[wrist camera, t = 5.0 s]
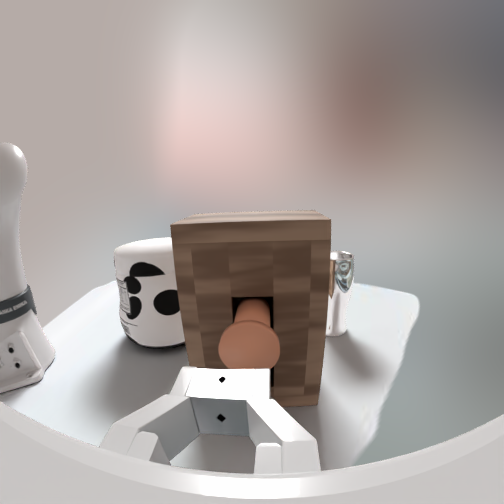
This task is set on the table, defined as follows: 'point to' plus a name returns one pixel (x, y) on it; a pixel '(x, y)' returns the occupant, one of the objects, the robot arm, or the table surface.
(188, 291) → the box
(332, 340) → the table surface
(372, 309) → the table surface
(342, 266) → the white hollow cylinder
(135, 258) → the milk container
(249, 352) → the terracotta plug
